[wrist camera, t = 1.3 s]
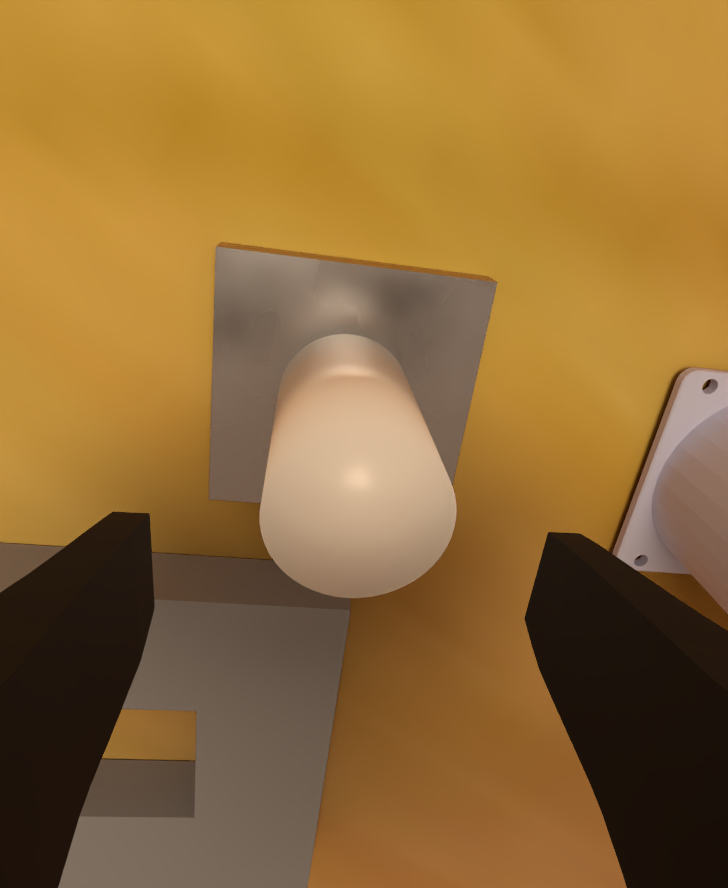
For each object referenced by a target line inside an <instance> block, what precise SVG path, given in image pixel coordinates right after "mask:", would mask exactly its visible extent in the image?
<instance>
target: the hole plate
mask: <svg viewBox="0 0 728 888" xmlns="http://www.w3.org/2000/svg"><path fill="white" fill-rule="evenodd" d="M63 548H65V547H58V546H43V545H27V544H12V543H0V592H2V591H3V590H5V589H6V588H8V587H9V586H11V585H12V584H14V583H15V582H17V581H18V580H20V579H21V578H23V577H24V576H26V575H27V574H29V573H30V572H31V571H33V570H34V569H36V568H37V567H38V566H40V565H41V564H42V563H44V562H45V561H47V560H48V559H49V558H51V557H52V556H53V555H55V554H56V553H58V552H59V551H60V550H62V549H63ZM152 567H153V585H154V602H155V609H154V613H153V617H152V620H151V624H150V628H149V632H148V636H147V640H146V644H145V647H144V651H143V655H142V658H141V661H140V664H139V667H138V669H137V672H136V674H135V677H134V679H133V682H132V684H131V687H130V689H129V692H128V694H127V697H126V700H125V702H124V705H123V707H122V709H142V710H173V711H197V720H196V761H160V760H115V759H101V761H100V764H99V766H98V769H97V771H96V774H95V776H94V779H93V781H92V783H91V786H90V789H89V792H88V794H87V797H86V800H85V803H84V805H83V808H82V811H81V814H80V817H79V820H78V823H77V827H76V830H75V833H74V837H73V840H72V843H71V847H70V850H69V853H68V857H67V860H66V863H65V867H64V870H63V873H62V877H61V880H60V883H59V887H58V888H307V887H308V880H309V874H310V867H311V861H312V855H313V848H314V842H315V836H316V829H317V823H318V816H319V810H320V804H321V797H322V791H323V784H324V778H325V772H326V765H327V759H328V753H329V746H330V740H331V733H332V727H333V721H334V714H335V708H336V701H337V695H338V689H339V682H340V676H341V670H342V663H343V657H344V650H345V644H346V638H347V631H348V625H349V618H350V612H351V606H350V598H343V597H335V596H330V595H326V594H322V593H319V592H316V591H313V590H311V589H309V588H307V587H305V586H303V585H301V584H299V583H298V582H296V581H295V580H293V579H292V578H290V577H289V576H288V575H287V574H286V573H284V572H283V571H282V570H281V569H280V567H279V566H278V565H277V564H276V563H275V561H274V560H261V559H246V558H230V557H214V556H199V555H183V554H168V553H152Z"/></svg>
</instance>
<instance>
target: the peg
mask: <svg viewBox="0 0 728 888" xmlns="http://www.w3.org/2000/svg"><path fill="white" fill-rule="evenodd" d="M455 522H456V499H455V493H454V490H453V487H452V483H451V481H450V479H449V476H448V474H447V472H446V469H445V467H444V465H443V462H442V460H441V458H440V455H439V453H438V451H437V448H436V446H435V444H434V441H433V439H432V437H431V434H430V432H429V430H428V427H427V425H426V423H425V420H424V418H423V416H422V413H421V411H420V409H419V406H418V404H417V402H416V399H415V397H414V395H413V392H412V390H411V388H410V385H409V383H408V381H407V378H406V376H405V374H404V372H403V369H402V367H401V365H400V364H399V362H398V361H397V359H396V358H395V357H394V356H393V355H392V354H391V352H389V351H388V350H387V349H386V348H385V347H383V346H382V345H380V344H379V343H377V342H375V341H373V340H371V339H369V338H366V337H362V336H358V335H352V334H337V335H331V336H326V337H323V338H320V339H317V340H315V341H313V342H311V343H309V344H308V345H307V346H305V347H304V348H302V349H301V350H300V351H299V352H298V353H297V354H296V355H295V356H294V357H293V358H292V359H291V361H290V362H289V364H288V365H287V367H286V369H285V371H284V373H283V375H282V378H281V382H280V387H279V393H278V399H277V406H276V412H275V418H274V424H273V431H272V437H271V443H270V449H269V456H268V462H267V468H266V474H265V480H264V487H263V493H262V499H261V506H260V529H261V535H262V538H263V541H264V544H265V546H266V548H267V550H268V552H269V554H270V556H271V557H272V559H273V560H274V561H275V563H276V564H277V565H278V566H279V567H280V569H281V570H282V571H283V572H284V573H286V574H287V575H288V576H289V577H290V578H292V579H293V580H295V581H296V582H298V583H299V584H301V585H303V586H305V587H307V588H309V589H311V590H313V591H316V592H319V593H322V594H326V595H330V596H335V597H343V598H365V597H373V596H378V595H383V594H386V593H389V592H392V591H395V590H397V589H400V588H402V587H404V586H406V585H408V584H410V583H411V582H413V581H415V580H416V579H418V578H419V577H421V576H422V575H423V574H425V573H426V572H427V571H428V570H429V569H430V568H431V567H432V566H433V565H434V564H435V563H436V562H437V561H438V559H439V558H440V557H441V555H442V554H443V552H444V551H445V549H446V548H447V546H448V544H449V541H450V539H451V537H452V534H453V531H454V528H455Z"/></svg>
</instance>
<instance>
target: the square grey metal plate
mask: <svg viewBox="0 0 728 888" xmlns="http://www.w3.org/2000/svg"><path fill="white" fill-rule="evenodd" d="M496 286H497V282H496V281H495V280H493V279H491V278H490V277H488V276H481V275H473V274H465V273H457V272H450V271H442V270H434V269H426V268H418V267H411V266H403V265H395V264H387V263H379V262H372V261H364V260H356V259H348V258H340V257H333V256H325V255H317V254H309V253H301V252H294V251H286V250H278V249H270V248H262V247H255V246H247V245H239V244H231V243H223V242H221V243H220V244H218V245H217V246H216V261H215V296H214V332H213V367H212V403H211V438H210V474H209V499H212V500H225V501H238V502H251V503H261V499H262V493H263V487H264V480H265V474H266V468H267V462H268V456H269V449H270V443H271V437H272V431H273V424H274V418H275V412H276V406H277V399H278V393H279V387H280V382H281V378H282V375H283V373H284V371H285V369H286V367H287V365H288V364H289V362H290V361H291V359H292V358H293V357H294V356H295V355H296V354H297V353H298V352H299V351H300V350H301V349H302V348H304V347H305V346H307V345H308V344H309V343H311V342H313V341H315V340H317V339H320V338H323V337H326V336H331V335H337V334H352V335H358V336H362V337H366V338H369V339H371V340H373V341H375V342H377V343H379V344H380V345H382V346H383V347H385V348H386V349H387V350H388V351H389V352H391V354H392V355H393V356H394V357H395V358H396V359H397V361H398V362H399V364H400V365H401V367H402V369H403V372H404V374H405V376H406V378H407V381H408V383H409V385H410V388H411V390H412V392H413V395H414V397H415V399H416V402H417V404H418V406H419V409H420V411H421V413H422V416H423V418H424V420H425V423H426V425H427V427H428V430H429V432H430V434H431V437H432V439H433V441H434V444H435V446H436V448H437V451H438V453H439V455H440V458H441V460H442V462H443V465H444V467H445V469H446V472H447V474H448V476H449V479H450V481H451V483H452V485H453V480H454V476H455V471H456V467H457V462H458V458H459V453H460V448H461V444H462V439H463V435H464V430H465V426H466V421H467V417H468V412H469V408H470V403H471V399H472V394H473V390H474V385H475V381H476V376H477V372H478V367H479V363H480V358H481V354H482V349H483V345H484V340H485V336H486V331H487V327H488V322H489V318H490V313H491V309H492V304H493V300H494V295H495V291H496Z"/></svg>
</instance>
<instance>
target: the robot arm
mask: <svg viewBox="0 0 728 888" xmlns="http://www.w3.org/2000/svg"><path fill="white" fill-rule="evenodd" d="M709 379H711V382H710V385H709V386H708V387H707V388H706V389H704V390H702V387H703V384H704V383H705V382H706V381H707V380H709ZM640 555H642V556H641V558H639V559H638V560H635V559H636V557H638V556H640ZM638 571H648V572H663V573H678V574H691V575H692V576H693V577H694V578H695V579H696V580H697V581H698V582H699V584H700V585H701V586H702V587H703V588H704V589H705V590H706V591H707V592H708V593H709V594H710V595H711V597H712V598H713V599H714V600H715V601H716V602H717V603H718V604H719V605H720V606H721V607H722V609H723V610H724V611H725V612H726V613H727V614H728V371H724V370H715V369H706V368H697V367H693V368H688V369H686V370H684V371H683V372H682V373H681V374H680V375H679V376H678V378H677V380H676V382H675V385H674V388H673V390H672V393H671V396H670V398H669V401H668V404H667V407H666V409H665V412H664V415H663V417H662V420H661V423H660V425H659V428H658V431H657V434H656V436H655V439H654V442H653V444H652V447H651V450H650V453H649V455H648V458H647V461H646V463H645V466H644V469H643V472H642V474H641V477H640V480H639V482H638V485H637V488H636V490H635V493H634V496H633V499H632V501H631V504H630V507H629V509H628V512H627V515H626V518H625V520H624V523H623V526H622V528H621V531H620V534H619V536H618V539H617V542H616V545H615V547H614V550H613V553H610V552H609V551H607V550H606V549H604V548H603V547H601V546H600V545H598V544H597V543H595V542H593V541H592V540H590V539H588V538H587V537H585V536H583V535H581V534H578V533H556V532H548V535H547V539H546V542H545V546H544V550H543V553H542V557H541V561H540V564H539V568H538V571H537V575H536V579H535V582H534V586H533V590H532V593H531V597H530V601H529V604H528V608H527V611H526V615H525V622H526V625H527V629H528V633H529V636H530V640H531V644H532V647H533V650H534V654H535V657H536V660H537V663H538V667H539V669H540V672H541V674H542V676H543V679H544V681H545V683H546V686H547V688H548V690H549V693H550V695H551V697H552V699H553V702H554V704H555V706H556V709H557V711H558V713H559V715H560V717H561V720H562V722H563V724H564V726H565V729H566V731H567V733H568V735H569V737H570V740H571V742H572V744H573V746H574V749H575V751H576V753H577V755H578V757H579V760H580V762H581V764H582V766H583V769H584V771H585V773H586V775H587V777H588V780H589V782H590V784H591V787H592V789H593V792H594V794H595V796H596V799H597V801H598V804H599V806H600V809H601V811H602V814H603V817H604V820H605V823H606V826H607V829H608V832H609V835H610V838H611V841H612V844H613V846H614V849H615V852H616V855H617V858H618V861H619V864H620V867H621V870H622V873H623V876H624V879H625V883H626V886H627V888H728V631H727V630H725V629H724V628H722V627H721V626H719V625H717V624H716V623H714V622H712V621H711V620H709V619H708V618H706V617H704V616H703V615H701V614H700V613H698V612H697V611H695V610H694V609H692V608H691V607H689V606H688V605H686V604H685V603H683V602H682V601H680V600H679V599H677V598H676V597H674V596H673V595H671V594H670V593H668V592H667V591H665V590H664V589H662V588H661V587H660V586H658V585H657V584H655V583H654V582H652V581H651V580H649V579H648V578H646V577H645V576H644V575H642V574H641V573H639V572H638ZM154 609H155V602H154V585H153V567H152V549H151V532H150V514H149V513H127V512H112V513H111V514H109V515H108V516H106V517H105V518H103V519H102V520H101V521H99V522H98V523H97V524H95V525H94V526H93V527H91V528H90V529H89V530H87V531H86V532H85V533H83V534H82V535H81V536H79V537H78V538H77V539H75V540H74V541H73V542H71V543H70V544H69V545H67V546H66V547H65V548H63V549H62V550H60V551H59V552H58V553H56V554H55V555H53V556H52V557H51V558H49V559H48V560H47V561H45V562H44V563H42V564H41V565H40V566H38V567H37V568H36V569H34V570H33V571H31V572H30V573H29V574H27V575H26V576H24V577H23V578H21V579H20V580H18V581H17V582H15V583H14V584H12V585H11V586H9V587H8V588H6V589H5V590H3V591H2V592H0V888H58V887H59V883H60V880H61V877H62V873H63V870H64V867H65V863H66V860H67V857H68V853H69V850H70V847H71V843H72V840H73V837H74V833H75V830H76V827H77V823H78V820H79V817H80V814H81V811H82V808H83V805H84V803H85V800H86V797H87V794H88V792H89V789H90V786H91V783H92V781H93V779H94V776H95V774H96V771H97V769H98V766H99V764H100V761H101V759H102V756H103V754H104V751H105V749H106V746H107V744H108V742H109V739H110V737H111V734H112V732H113V729H114V727H115V724H116V722H117V719H118V717H119V714H120V712H121V709H122V707H123V705H124V702H125V700H126V697H127V694H128V692H129V689H130V687H131V684H132V682H133V679H134V677H135V674H136V672H137V669H138V667H139V664H140V661H141V658H142V655H143V651H144V647H145V644H146V640H147V636H148V632H149V628H150V624H151V620H152V617H153V613H154Z"/></svg>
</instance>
